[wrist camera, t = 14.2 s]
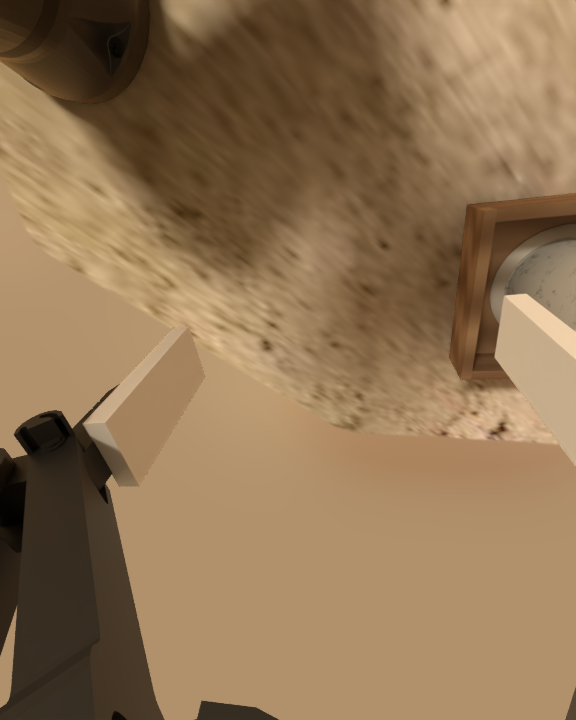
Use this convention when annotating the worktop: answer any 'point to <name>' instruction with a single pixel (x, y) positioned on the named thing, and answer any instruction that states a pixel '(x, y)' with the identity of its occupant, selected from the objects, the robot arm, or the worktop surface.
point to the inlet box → (498, 271)
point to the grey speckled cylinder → (549, 278)
